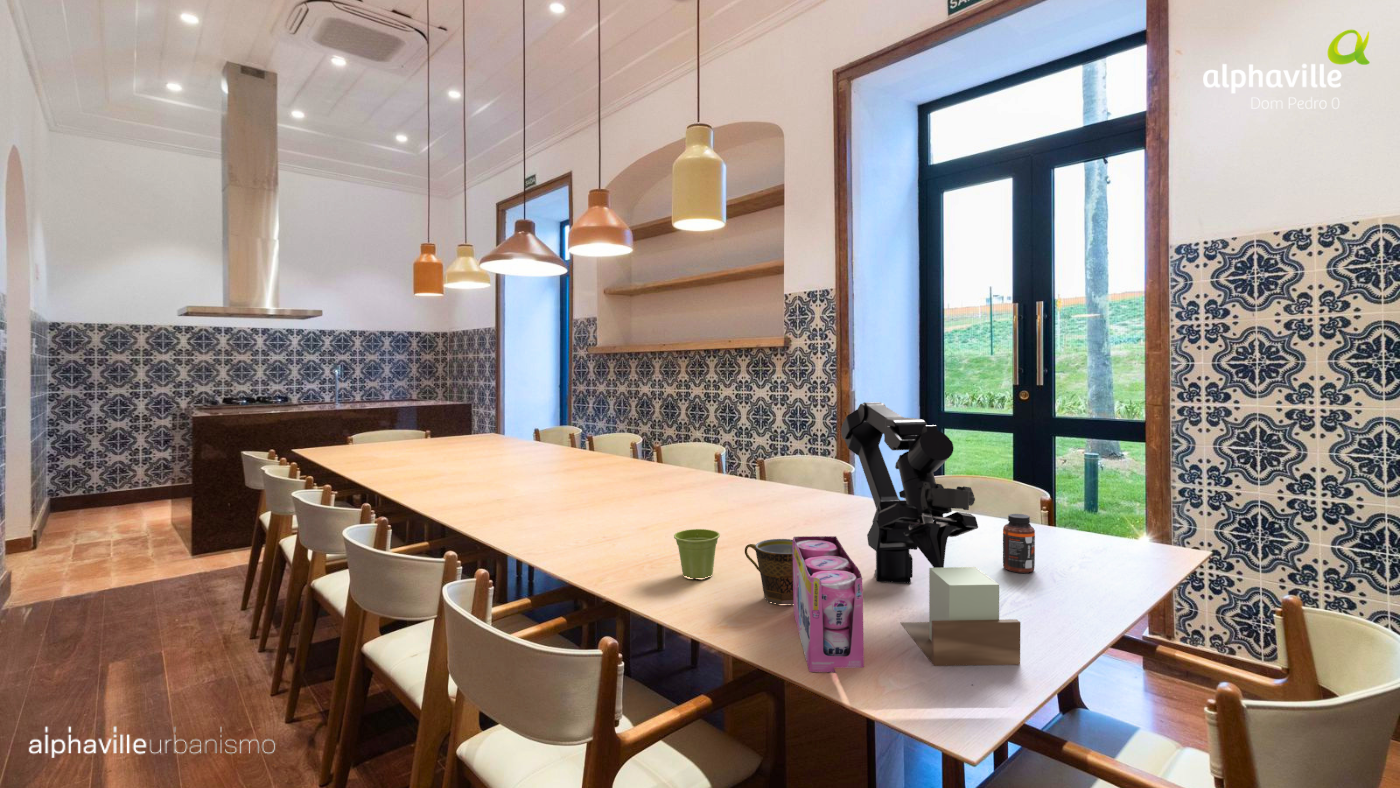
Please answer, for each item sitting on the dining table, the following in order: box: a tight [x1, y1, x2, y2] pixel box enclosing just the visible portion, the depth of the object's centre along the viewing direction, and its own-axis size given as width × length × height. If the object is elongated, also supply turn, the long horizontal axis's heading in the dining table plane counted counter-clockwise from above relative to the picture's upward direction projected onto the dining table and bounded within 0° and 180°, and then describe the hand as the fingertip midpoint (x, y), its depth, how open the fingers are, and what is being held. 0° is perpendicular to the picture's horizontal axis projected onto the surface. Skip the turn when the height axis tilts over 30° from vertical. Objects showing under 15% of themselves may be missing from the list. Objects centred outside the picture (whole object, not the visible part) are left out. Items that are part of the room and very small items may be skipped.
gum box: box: [792, 535, 865, 673], centre depth 101 cm, size 24×8×14 cm, turn 178°
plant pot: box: [673, 528, 721, 578], centre depth 133 cm, size 9×9×9 cm
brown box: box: [900, 618, 1021, 667], centre depth 98 cm, size 15×12×7 cm
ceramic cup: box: [744, 538, 794, 604], centre depth 120 cm, size 13×10×10 cm
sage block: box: [928, 566, 1000, 641], centre depth 95 cm, size 8×7×11 cm
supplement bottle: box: [1002, 513, 1036, 574], centre depth 135 cm, size 6×6×11 cm
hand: (939, 569), depth 110 cm, fingers closed
